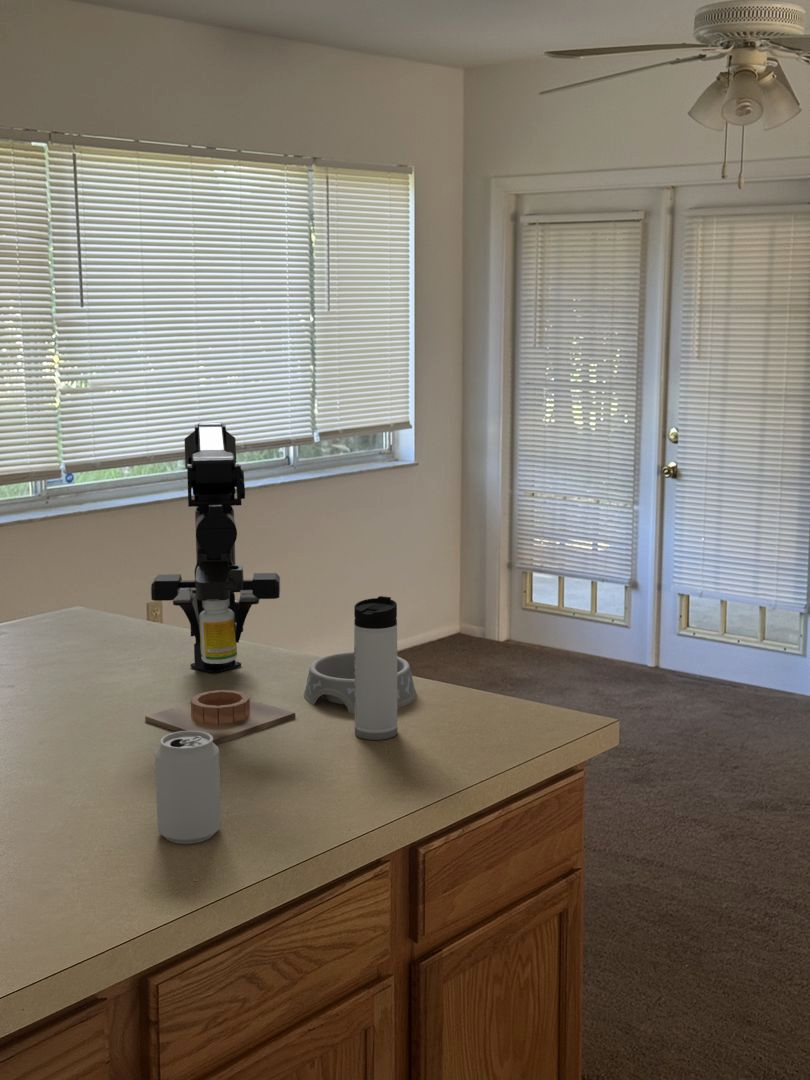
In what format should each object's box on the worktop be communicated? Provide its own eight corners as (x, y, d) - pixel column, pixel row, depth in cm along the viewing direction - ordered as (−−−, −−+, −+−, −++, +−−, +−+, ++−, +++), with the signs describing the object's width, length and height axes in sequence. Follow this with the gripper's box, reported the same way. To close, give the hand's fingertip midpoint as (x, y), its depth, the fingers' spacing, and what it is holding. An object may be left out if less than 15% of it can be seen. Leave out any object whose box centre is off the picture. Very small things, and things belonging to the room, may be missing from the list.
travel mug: (405, 729, 186) (405, 598, 183) (385, 743, 181) (385, 608, 177) (367, 723, 189) (366, 594, 185) (347, 736, 183) (346, 603, 179)
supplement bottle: (195, 659, 189) (190, 597, 188) (225, 652, 193) (221, 591, 191) (213, 666, 185) (209, 603, 183) (244, 659, 189) (240, 597, 187)
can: (161, 821, 153) (157, 727, 151) (223, 819, 154) (220, 726, 152) (154, 847, 146) (150, 749, 144) (219, 845, 146) (216, 747, 144)
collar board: (225, 696, 202) (225, 676, 201) (295, 717, 192) (295, 697, 191) (145, 721, 190) (144, 700, 189) (215, 745, 180) (214, 723, 179)
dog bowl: (381, 720, 191) (380, 686, 190) (282, 701, 200) (282, 669, 199) (434, 691, 206) (435, 659, 205) (341, 674, 215) (340, 644, 214)
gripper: (144, 552, 177) (148, 658, 180) (277, 550, 178) (279, 656, 181) (154, 537, 188) (157, 638, 191) (279, 535, 189) (281, 635, 192)
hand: (218, 642), depth 189 cm, fingers closed on supplement bottle, 5 cm apart
